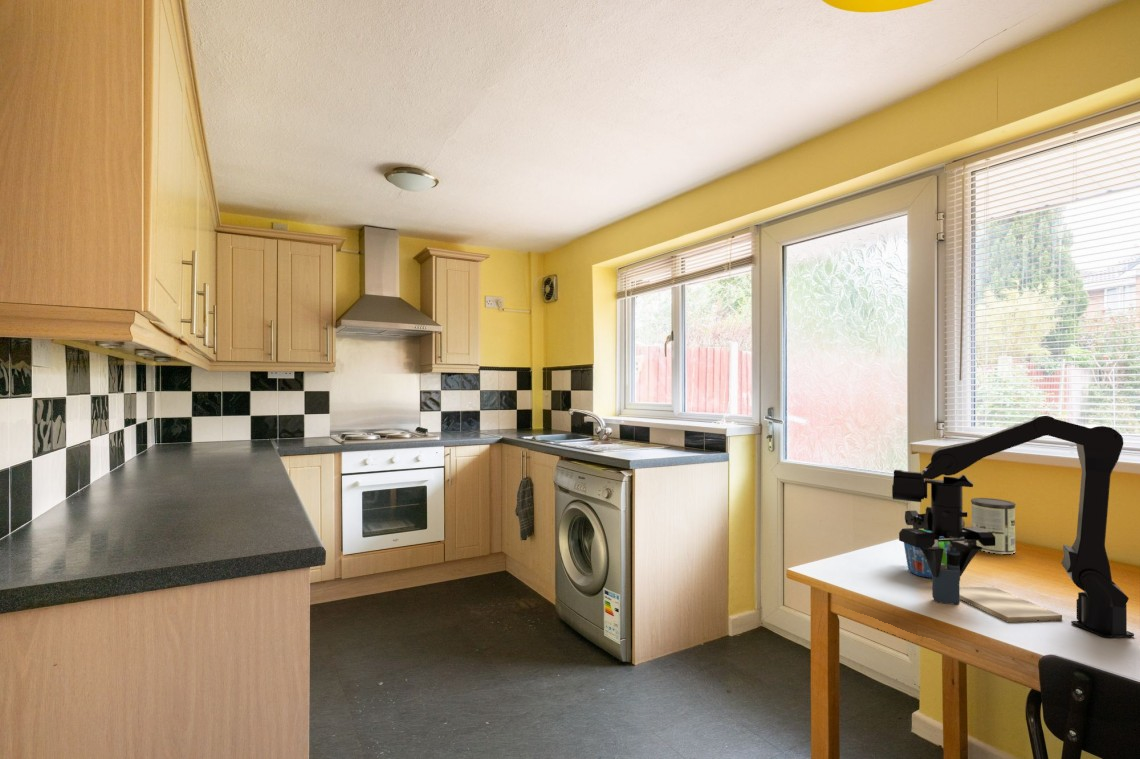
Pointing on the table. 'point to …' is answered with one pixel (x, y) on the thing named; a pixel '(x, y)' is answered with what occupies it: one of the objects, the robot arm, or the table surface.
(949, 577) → the vaping device
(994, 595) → the birch board
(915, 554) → the blue plastic tapered tub
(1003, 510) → the coffee can
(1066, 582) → the table surface
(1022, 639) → the table surface
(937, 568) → the robot arm
